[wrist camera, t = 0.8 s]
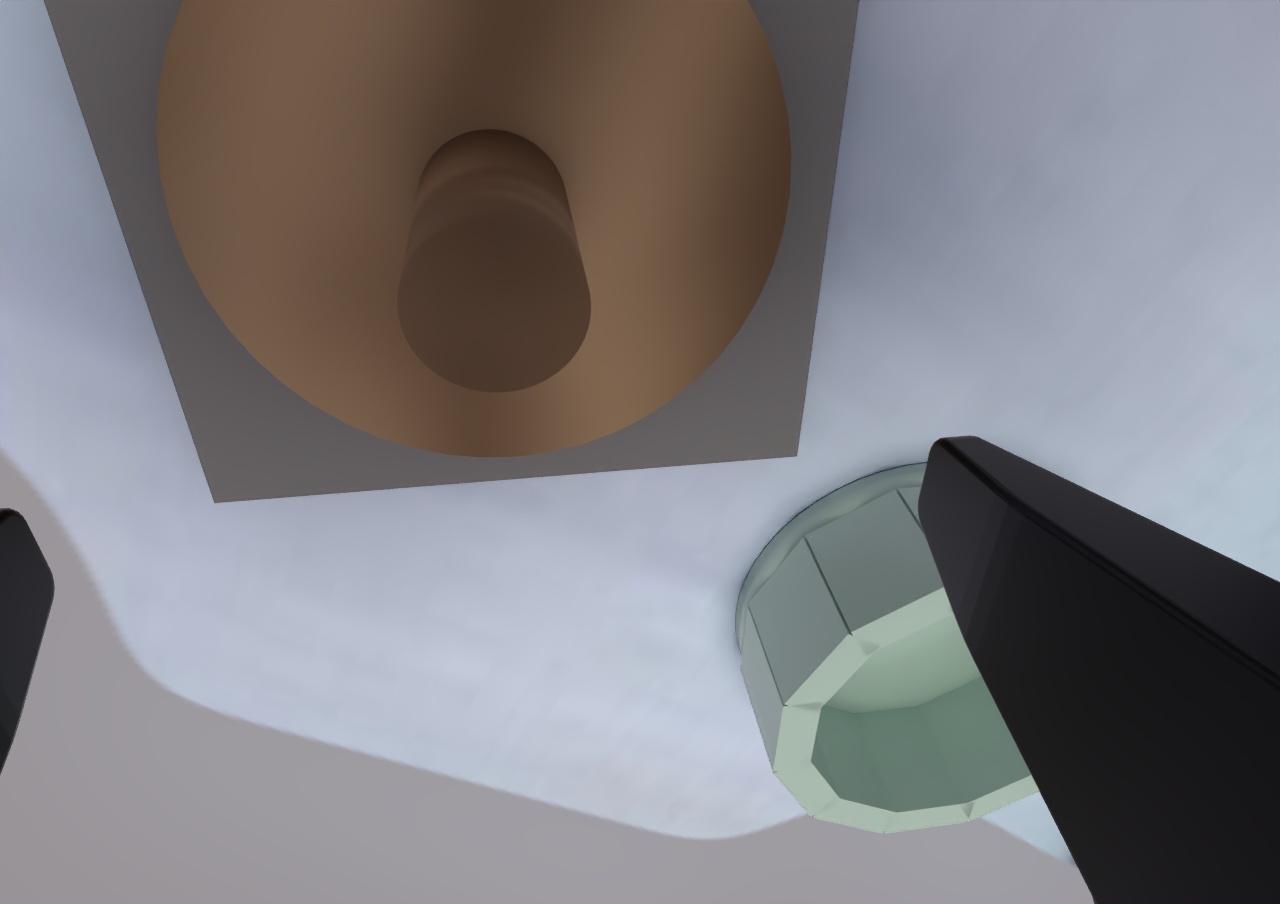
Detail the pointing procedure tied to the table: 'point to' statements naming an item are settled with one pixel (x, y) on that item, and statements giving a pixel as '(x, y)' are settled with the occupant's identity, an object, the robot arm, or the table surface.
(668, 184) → the lid
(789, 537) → the prep bowl
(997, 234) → the table surface
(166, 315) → the mat
